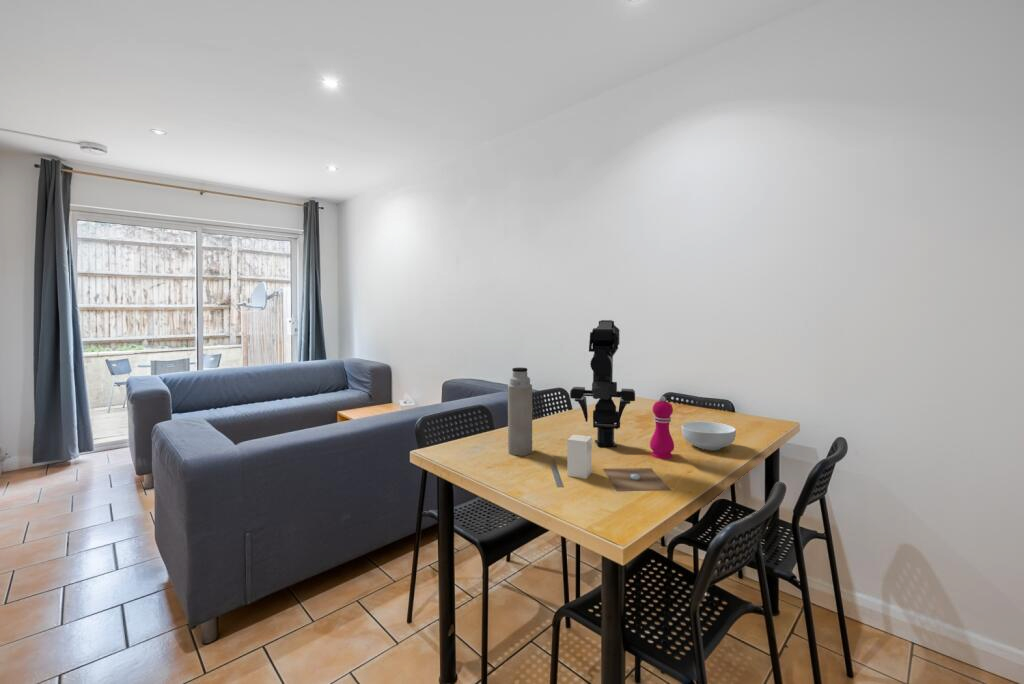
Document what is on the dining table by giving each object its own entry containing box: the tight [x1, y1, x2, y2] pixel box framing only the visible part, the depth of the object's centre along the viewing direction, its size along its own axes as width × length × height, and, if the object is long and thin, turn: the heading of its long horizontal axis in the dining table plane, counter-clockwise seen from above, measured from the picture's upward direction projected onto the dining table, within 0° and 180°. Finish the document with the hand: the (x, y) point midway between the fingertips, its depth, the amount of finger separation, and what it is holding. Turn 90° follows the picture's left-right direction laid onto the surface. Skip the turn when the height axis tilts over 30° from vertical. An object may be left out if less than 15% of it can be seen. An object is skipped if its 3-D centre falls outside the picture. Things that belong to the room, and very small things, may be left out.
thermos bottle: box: [507, 367, 533, 456], centre depth 149 cm, size 8×8×28 cm
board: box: [602, 467, 672, 492], centre depth 123 cm, size 16×14×1 cm
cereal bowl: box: [680, 420, 737, 451], centre depth 155 cm, size 17×17×7 cm
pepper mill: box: [649, 395, 675, 460], centre depth 142 cm, size 7×7×20 cm
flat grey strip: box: [550, 465, 565, 488], centre depth 128 cm, size 16×13×1 cm
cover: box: [566, 434, 593, 480], centre depth 127 cm, size 5×5×11 cm
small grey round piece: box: [631, 474, 640, 480], centre depth 123 cm, size 2×2×1 cm
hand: (602, 422), depth 136 cm, fingers open, 9 cm apart
